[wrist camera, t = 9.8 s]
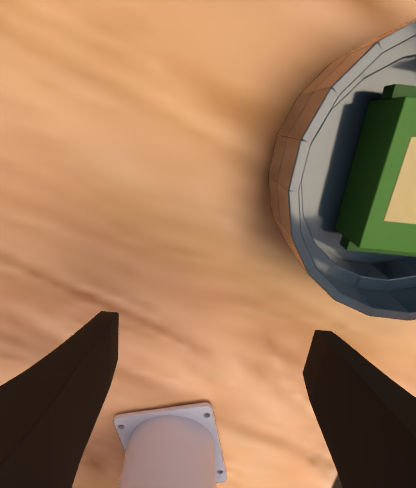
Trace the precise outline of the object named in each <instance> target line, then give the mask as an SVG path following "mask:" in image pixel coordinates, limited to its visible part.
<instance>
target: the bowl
mask: <svg viewBox="0 0 416 488" xmlns="http://www.w3.org/2000/svg"><path fill="white" fill-rule="evenodd" d="M392 84H402V85H410V86H416V19H414V20H412V21H410V22H407V23H405V24H403V25H401V26H399V27H397V28H395V29H393V30H391V31H389V32H387V33H385V34H383V35H381V36H379V37H377V38H375V39H373V40H371V41H369V42H367V43H365V44H363V45H362V46H360V47H358V48H356V49H354V50H353V51H351V52H349V53H347V54H345V55H344V56H342V57H340V58H338V59H336V60H335V61H333V62H332V63H331V64H330V65H329V66H328V67H327V68H326V69H325V70H324V71H323V72H322V73H321V74H320V75H319V76H318V77H317V78H316V79H315V80H314V81H313V82H312V83H311V84H310V85H309V86H308V87H307V88H306V89H305V90H304V91H303V92H302V93H301V94H300V96H299V97H298V98H297V100H296V102H295V104H294V106H293V108H292V109H291V111H290V113H289V115H288V117H287V118H286V120H285V122H284V124H283V126H282V128H281V129H280V131H279V133H278V136H277V139H276V143H275V148H274V153H273V157H272V162H271V166H270V171H269V187H270V198H271V209H272V213H273V215H274V218H275V220H276V222H277V224H278V226H279V229H280V231H281V233H282V235H283V237H284V240H285V242H286V243H287V244H288V246H289V247H290V249H291V250H292V252H293V253H294V254H295V256H296V257H297V259H298V260H299V262H300V263H301V265H302V266H303V267H304V269H305V270H306V272H307V273H308V274H309V275H310V276H311V277H312V278H313V279H314V280H315V281H316V282H317V283H318V284H319V285H320V286H321V287H322V288H323V289H324V290H325V291H326V292H327V293H328V294H329V295H330V296H331V297H332V298H333V299H334V300H336V301H338V302H340V303H342V304H344V305H346V306H349V307H351V308H353V309H355V310H357V311H359V312H362V313H364V314H366V315H369V316H375V317H383V318H391V319H400V320H415V319H416V257H409V256H399V255H388V254H378V253H367V252H357V251H347V250H346V249H344V248H343V247H342V246H341V245H340V241H341V237H342V236H343V235H342V234H341V233H340V232H338V231H337V230H336V229H335V226H336V222H337V219H338V215H339V211H340V208H341V204H342V200H343V197H344V193H345V189H346V186H347V182H348V178H349V175H350V171H351V167H352V163H353V160H354V156H355V152H356V149H357V145H358V141H359V138H360V134H361V130H362V127H363V123H364V119H365V116H366V112H367V108H368V105H369V102H370V101H373V100H381V96H382V92H383V89H384V86H387V85H392Z"/></svg>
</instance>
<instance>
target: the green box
mask: <svg viewBox="0 0 416 488" xmlns="http://www.w3.org/2000/svg"><path fill="white" fill-rule="evenodd" d="M335 229H336V230H337V231H338V232H340V233H341V234H342V235H343V236H342V237H341V241H340V245H341V246H342V247H343V248H344V249H346V250H347V251H357V252H367V253H378V254H388V255H399V256H409V257H416V86H410V85H402V84H392V85H387V86H384V89H383V92H382V96H381V100H373V101H370V102H369V105H368V108H367V112H366V116H365V119H364V123H363V127H362V130H361V134H360V138H359V141H358V145H357V149H356V152H355V156H354V160H353V163H352V167H351V171H350V175H349V178H348V182H347V186H346V189H345V193H344V197H343V200H342V204H341V208H340V211H339V215H338V219H337V222H336V226H335Z"/></svg>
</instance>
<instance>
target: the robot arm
mask: <svg viewBox="0 0 416 488" xmlns="http://www.w3.org/2000/svg"><path fill="white" fill-rule="evenodd" d="M118 325H119V313H117V312H106V311H101V312H100V313H98V314H97V315H96V316H95V317H94V318H92V319H91V320H90V321H89V322H88V323H87V324H85V325H84V326H83V327H82V328H81V329H80V330H78V331H77V332H76V333H75V334H74V335H72V336H71V337H70V338H69V339H67V340H66V341H65V342H64V343H62V344H61V345H60V346H59V347H57V348H56V349H55V350H53V351H52V352H51V353H49V354H48V355H47V356H45V357H44V358H43V359H41V360H40V361H38V362H37V363H36V364H34V365H33V366H31V367H30V368H29V369H27V370H25V371H24V372H22V373H21V374H19V375H18V376H16V377H14V378H13V379H11V380H10V381H8V382H6V383H5V384H3V385H1V386H0V488H72V485H73V482H74V479H75V475H76V472H77V469H78V466H79V463H80V460H81V458H82V455H83V452H84V449H85V447H86V445H87V442H88V440H89V437H90V435H91V432H92V430H93V427H94V425H95V423H96V420H97V418H98V415H99V413H100V410H101V408H102V405H103V403H104V401H105V398H106V396H107V393H108V391H109V388H110V386H111V382H112V379H113V375H114V371H115V368H116V364H117V360H118ZM303 376H304V381H305V385H306V389H307V393H308V396H309V400H310V403H311V405H312V408H313V411H314V413H315V416H316V418H317V421H318V424H319V426H320V429H321V431H322V434H323V436H324V439H325V441H326V444H327V446H328V449H329V451H330V454H331V456H332V459H333V461H334V464H335V467H336V469H337V472H338V475H339V478H340V481H341V484H342V487H343V488H416V397H414V396H413V395H411V394H410V393H409V392H407V391H406V390H405V389H403V388H402V387H401V386H399V385H398V384H397V383H395V382H394V381H393V380H391V379H390V378H389V377H388V376H386V375H385V374H384V373H382V372H381V371H380V370H379V369H377V368H376V367H375V366H374V365H373V364H371V363H370V362H369V361H368V360H366V359H365V358H364V357H363V356H362V355H360V354H359V353H358V352H357V351H356V350H354V349H353V348H352V347H351V346H350V345H348V344H347V343H346V342H345V341H343V340H342V339H341V338H340V337H338V336H337V335H336V334H334V333H333V332H332V331H322V330H315V333H314V336H313V340H312V343H311V346H310V350H309V353H308V357H307V360H306V364H305V367H304V370H303ZM114 425H115V427H116V430H117V432H118V435H119V437H120V440H121V443H122V445H123V448H124V450H125V453H126V454H125V458H124V462H123V467H122V471H121V475H120V480H119V484H118V488H216V483H222V482H225V481H226V480H227V473H226V468H225V464H224V459H223V455H222V450H221V445H220V441H219V436H218V432H217V427H216V423H215V418H214V414H213V409H212V405H211V404H210V403H207V402H204V403H197V404H190V405H182V406H175V407H168V408H160V409H153V410H146V411H139V412H131V413H124V414H118V415H116V416H115V418H114Z"/></svg>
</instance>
